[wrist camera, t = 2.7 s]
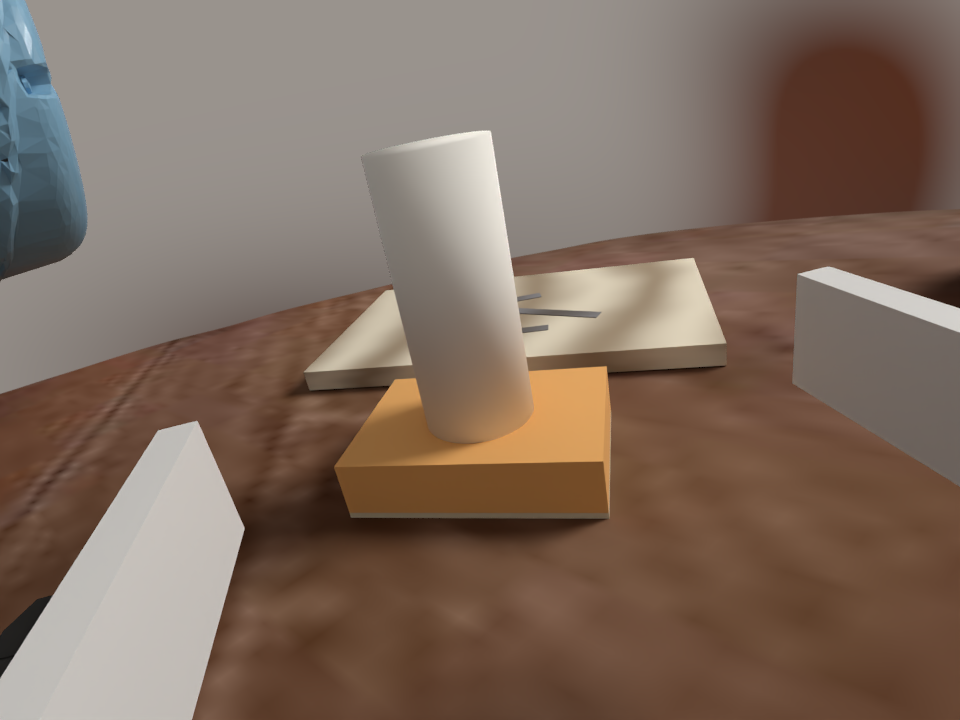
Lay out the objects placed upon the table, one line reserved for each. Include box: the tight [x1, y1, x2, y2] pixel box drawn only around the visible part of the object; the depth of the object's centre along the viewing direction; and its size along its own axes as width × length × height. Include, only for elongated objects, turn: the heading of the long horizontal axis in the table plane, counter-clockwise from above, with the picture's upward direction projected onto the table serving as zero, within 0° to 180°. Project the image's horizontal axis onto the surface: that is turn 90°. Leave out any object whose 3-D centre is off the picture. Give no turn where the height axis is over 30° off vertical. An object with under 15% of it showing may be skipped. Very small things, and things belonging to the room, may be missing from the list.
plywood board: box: [303, 258, 726, 390], centre depth 38 cm, size 23×14×1 cm, turn 78°
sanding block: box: [334, 131, 611, 519], centre depth 22 cm, size 10×7×13 cm
